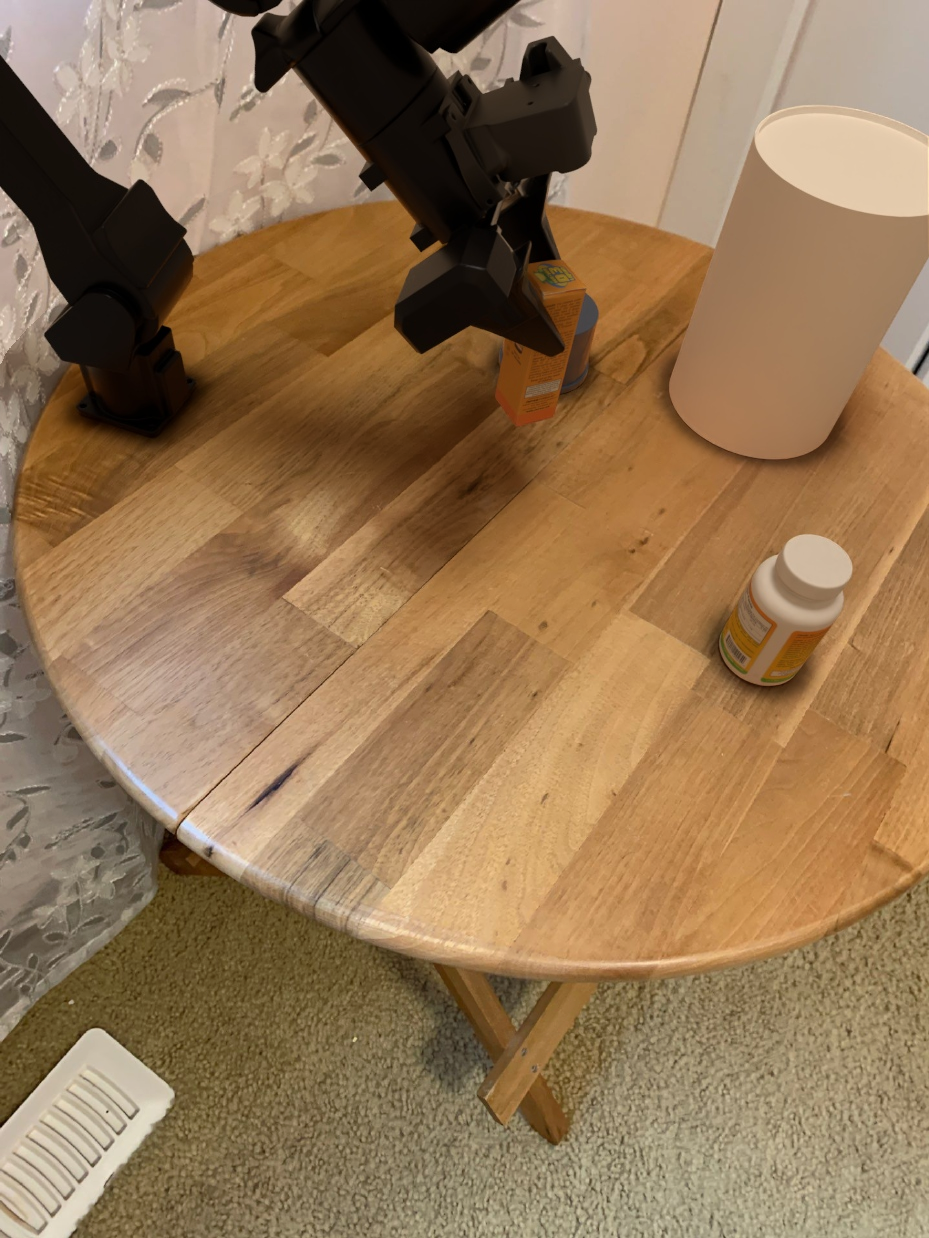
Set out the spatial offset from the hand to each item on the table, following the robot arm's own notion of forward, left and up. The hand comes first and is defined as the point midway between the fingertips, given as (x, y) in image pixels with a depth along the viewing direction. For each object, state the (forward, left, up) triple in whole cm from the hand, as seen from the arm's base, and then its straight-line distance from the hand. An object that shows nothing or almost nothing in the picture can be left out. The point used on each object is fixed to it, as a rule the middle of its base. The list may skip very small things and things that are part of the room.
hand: (564, 329), depth 54 cm
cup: (-3, +13, -13) cm, 19 cm away
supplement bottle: (+18, -9, -14) cm, 24 cm away
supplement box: (-1, 0, -7) cm, 7 cm away
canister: (+14, +16, -14) cm, 25 cm away
